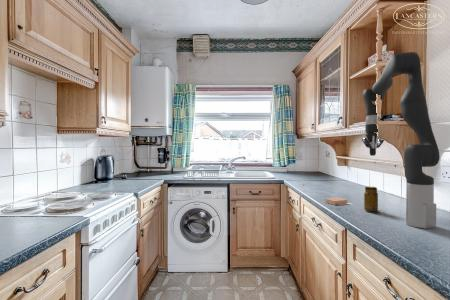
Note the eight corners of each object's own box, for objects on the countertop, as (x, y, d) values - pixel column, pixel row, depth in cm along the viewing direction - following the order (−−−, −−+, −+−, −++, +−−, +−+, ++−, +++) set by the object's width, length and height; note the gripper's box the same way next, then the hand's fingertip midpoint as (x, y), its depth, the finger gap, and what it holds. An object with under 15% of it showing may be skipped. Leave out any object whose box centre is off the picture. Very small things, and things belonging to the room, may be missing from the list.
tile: (347, 199, 152) (334, 201, 149) (347, 203, 152) (334, 205, 149) (338, 197, 158) (325, 198, 155) (338, 201, 158) (325, 202, 155)
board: (352, 204, 152) (352, 203, 152) (339, 205, 149) (339, 205, 149) (340, 201, 160) (340, 200, 160) (328, 202, 157) (328, 201, 157)
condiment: (367, 208, 142) (367, 185, 142) (384, 211, 135) (384, 187, 135) (360, 211, 137) (360, 187, 137) (378, 214, 131) (378, 189, 130)
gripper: (367, 122, 147) (367, 154, 146) (388, 124, 150) (388, 155, 149) (357, 124, 154) (357, 155, 154) (378, 125, 157) (378, 156, 156)
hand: (372, 155), depth 151 cm, fingers closed
